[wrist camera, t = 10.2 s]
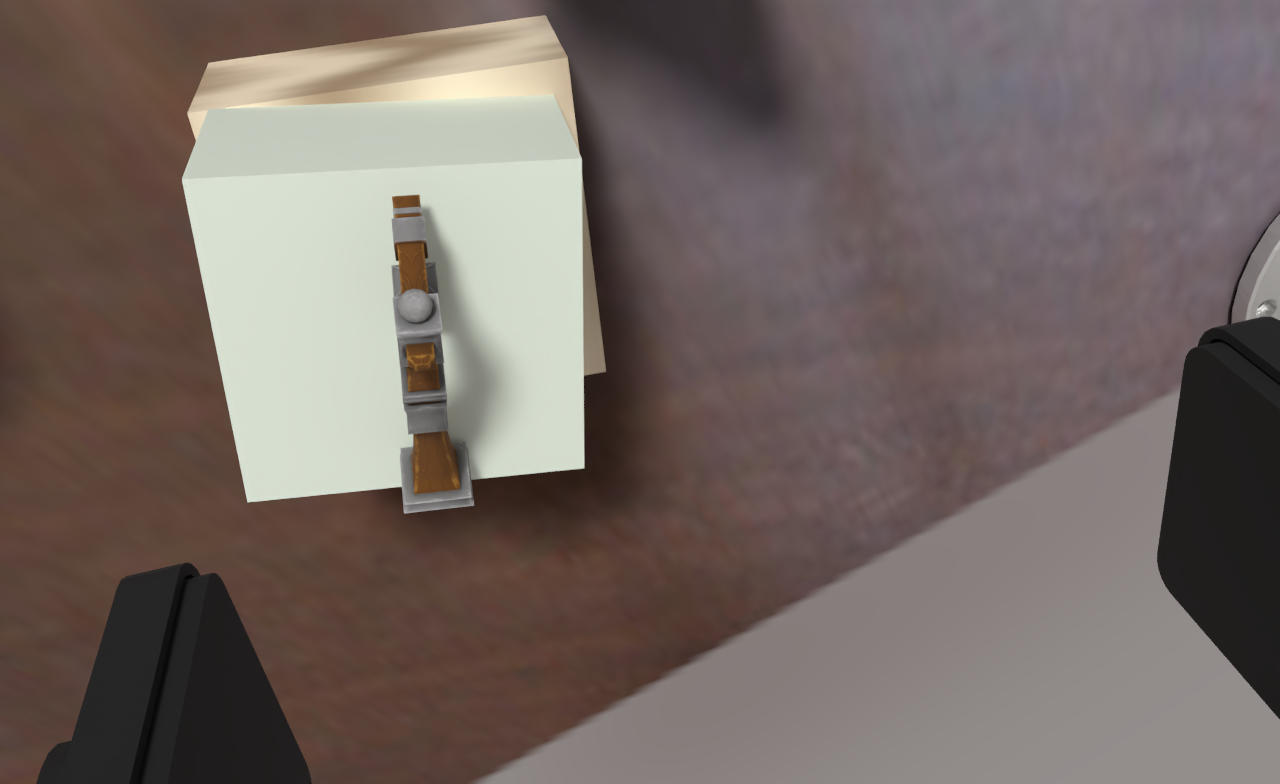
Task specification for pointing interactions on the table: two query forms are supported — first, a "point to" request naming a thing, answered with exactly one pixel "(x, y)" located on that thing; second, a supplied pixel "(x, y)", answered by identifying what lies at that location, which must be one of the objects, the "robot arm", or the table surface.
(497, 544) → the table surface
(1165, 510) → the robot arm
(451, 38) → the bottom block
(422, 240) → the wooden post with brackets
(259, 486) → the top block
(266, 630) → the table surface
